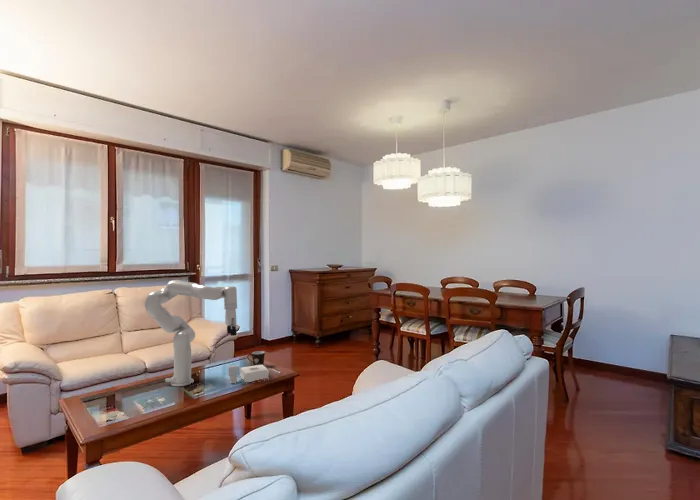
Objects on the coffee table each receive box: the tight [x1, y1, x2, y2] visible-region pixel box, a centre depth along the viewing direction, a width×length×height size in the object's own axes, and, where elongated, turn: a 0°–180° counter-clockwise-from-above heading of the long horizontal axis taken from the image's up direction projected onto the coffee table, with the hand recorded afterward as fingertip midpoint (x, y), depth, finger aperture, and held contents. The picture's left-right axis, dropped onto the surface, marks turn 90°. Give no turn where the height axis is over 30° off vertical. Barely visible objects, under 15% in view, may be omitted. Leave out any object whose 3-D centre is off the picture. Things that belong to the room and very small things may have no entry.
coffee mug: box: [246, 350, 266, 366], centre depth 252 cm, size 12×9×10 cm
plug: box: [227, 364, 240, 384], centre depth 218 cm, size 6×4×10 cm, turn 119°
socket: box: [239, 364, 269, 383], centre depth 226 cm, size 14×14×6 cm
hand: (231, 334), depth 223 cm, fingers open, 9 cm apart
